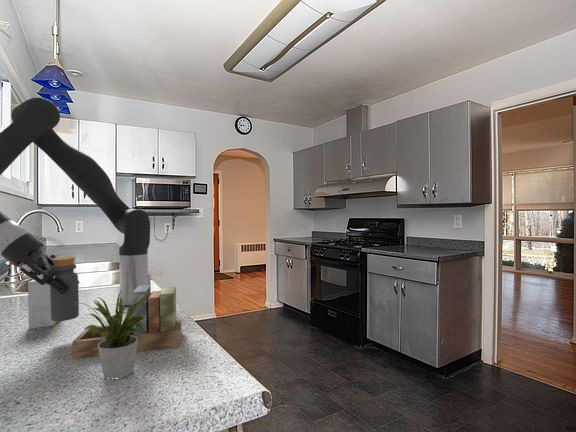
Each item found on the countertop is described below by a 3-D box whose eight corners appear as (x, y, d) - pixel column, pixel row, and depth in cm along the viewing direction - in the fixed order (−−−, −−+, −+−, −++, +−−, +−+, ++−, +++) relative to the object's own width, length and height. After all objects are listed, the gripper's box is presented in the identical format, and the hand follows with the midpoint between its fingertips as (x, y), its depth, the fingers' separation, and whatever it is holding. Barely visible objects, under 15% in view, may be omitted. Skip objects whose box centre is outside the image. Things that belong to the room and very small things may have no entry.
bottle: (49, 323, 81) (47, 260, 80) (53, 315, 86) (51, 257, 85) (77, 319, 83) (76, 259, 83) (79, 312, 89) (78, 255, 88)
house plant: (59, 403, 56) (57, 304, 56) (74, 368, 68) (73, 288, 68) (152, 384, 61) (151, 294, 61) (150, 355, 74) (149, 281, 74)
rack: (72, 358, 73) (71, 297, 73) (87, 341, 83) (86, 288, 83) (179, 346, 79) (178, 290, 79) (181, 332, 88) (180, 282, 88)
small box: (54, 326, 95) (54, 280, 95) (27, 328, 93) (27, 281, 93) (63, 317, 103) (62, 275, 103) (38, 320, 101) (37, 277, 101)
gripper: (11, 233, 75) (73, 283, 78) (40, 230, 89) (92, 272, 92) (-17, 258, 74) (47, 307, 77) (18, 251, 88) (71, 293, 91)
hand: (71, 288), depth 85 cm, fingers closed on bottle, 6 cm apart
